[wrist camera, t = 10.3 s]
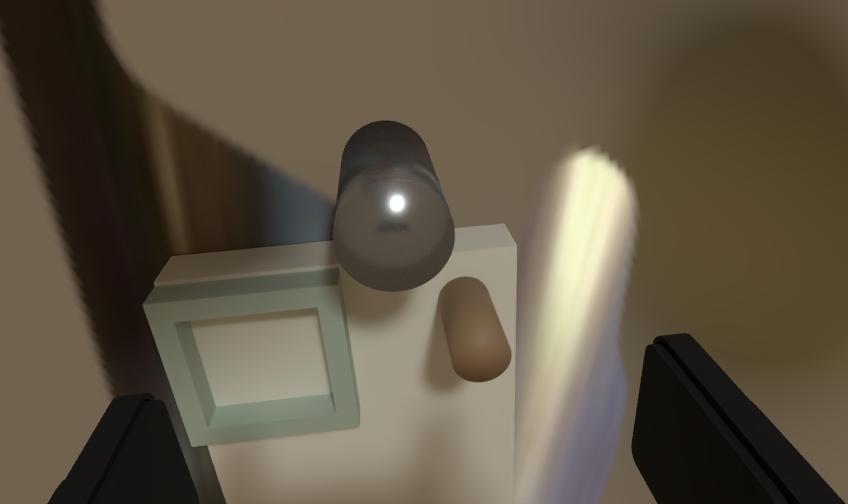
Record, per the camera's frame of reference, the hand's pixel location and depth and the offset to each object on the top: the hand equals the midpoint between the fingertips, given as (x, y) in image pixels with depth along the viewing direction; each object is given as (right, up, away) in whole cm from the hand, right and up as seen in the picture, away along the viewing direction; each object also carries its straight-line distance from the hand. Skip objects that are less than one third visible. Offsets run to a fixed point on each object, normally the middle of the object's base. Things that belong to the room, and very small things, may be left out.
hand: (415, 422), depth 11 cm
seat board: (-4, -9, +22) cm, 24 cm away
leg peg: (-2, +7, +14) cm, 16 cm away
